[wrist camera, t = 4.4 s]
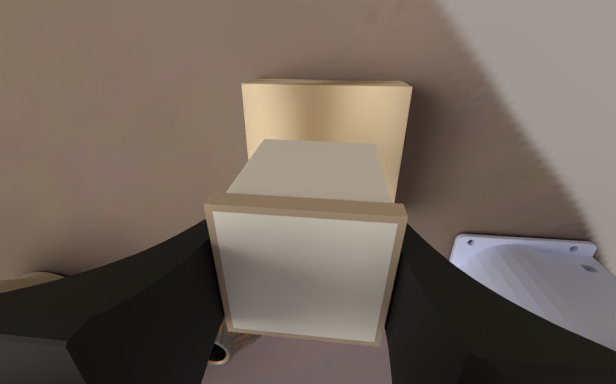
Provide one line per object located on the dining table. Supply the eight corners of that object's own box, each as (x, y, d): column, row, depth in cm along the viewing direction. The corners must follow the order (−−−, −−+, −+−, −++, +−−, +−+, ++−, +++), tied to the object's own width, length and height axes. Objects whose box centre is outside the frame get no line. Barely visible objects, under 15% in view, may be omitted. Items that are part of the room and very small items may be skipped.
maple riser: (401, 80, 17) (412, 86, 15) (383, 210, 21) (389, 232, 19) (255, 78, 18) (241, 83, 16) (264, 203, 22) (254, 224, 20)
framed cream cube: (380, 139, 11) (408, 217, 7) (366, 237, 14) (380, 346, 9) (259, 134, 12) (203, 203, 7) (266, 230, 14) (228, 331, 9)
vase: (212, 217, 23) (147, 302, 16) (295, 232, 23) (272, 325, 15) (213, 280, 27) (160, 377, 19) (287, 294, 26) (264, 397, 19)
